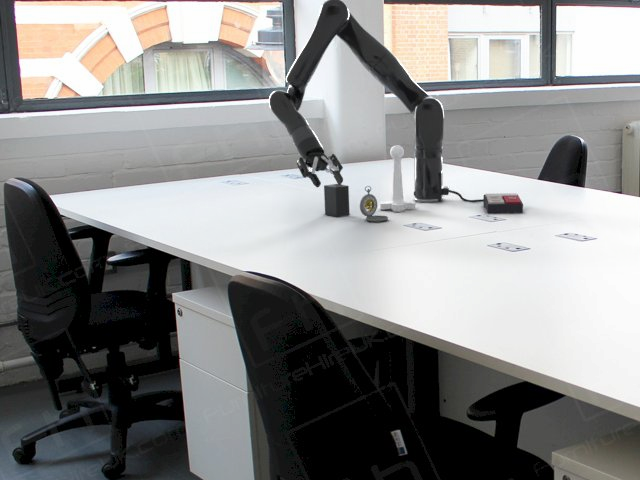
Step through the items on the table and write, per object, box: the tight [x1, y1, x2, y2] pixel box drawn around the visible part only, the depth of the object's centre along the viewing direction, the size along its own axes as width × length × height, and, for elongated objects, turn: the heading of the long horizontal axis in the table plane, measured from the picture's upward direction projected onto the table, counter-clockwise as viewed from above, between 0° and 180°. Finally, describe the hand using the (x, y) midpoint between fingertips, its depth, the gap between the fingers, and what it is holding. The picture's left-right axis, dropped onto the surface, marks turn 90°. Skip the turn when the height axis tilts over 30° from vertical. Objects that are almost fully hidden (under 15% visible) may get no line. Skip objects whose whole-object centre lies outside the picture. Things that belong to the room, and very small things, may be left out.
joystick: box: [379, 144, 417, 213], centre depth 330 cm, size 11×8×20 cm
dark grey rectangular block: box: [323, 183, 350, 218], centre depth 326 cm, size 6×5×9 cm
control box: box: [482, 192, 524, 215], centre depth 331 cm, size 11×4×15 cm
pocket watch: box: [359, 185, 389, 223], centre depth 316 cm, size 8×8×10 cm
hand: (330, 184), depth 327 cm, fingers open, 8 cm apart
